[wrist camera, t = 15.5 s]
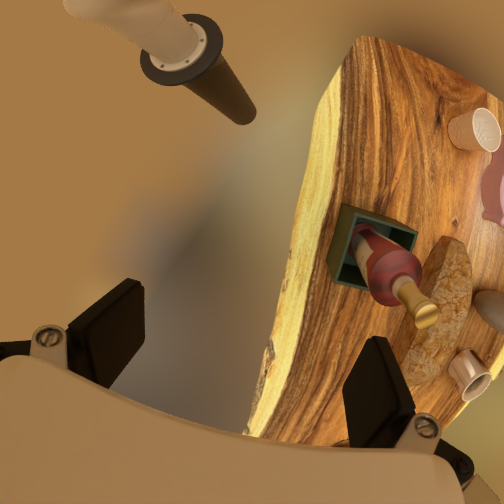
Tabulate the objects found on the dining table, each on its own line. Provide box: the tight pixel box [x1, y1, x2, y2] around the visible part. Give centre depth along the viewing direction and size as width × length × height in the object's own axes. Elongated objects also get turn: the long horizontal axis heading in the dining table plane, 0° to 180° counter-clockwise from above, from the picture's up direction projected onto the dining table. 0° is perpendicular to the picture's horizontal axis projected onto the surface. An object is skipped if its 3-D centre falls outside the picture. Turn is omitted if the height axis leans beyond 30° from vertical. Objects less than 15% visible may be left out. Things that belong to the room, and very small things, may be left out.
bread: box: [392, 236, 472, 387], centre depth 45 cm, size 36×11×10 cm, turn 174°
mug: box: [448, 349, 492, 401], centre depth 46 cm, size 10×12×11 cm
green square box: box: [326, 203, 418, 291], centre depth 42 cm, size 11×11×10 cm
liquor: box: [347, 223, 439, 329], centre depth 34 cm, size 7×7×28 cm
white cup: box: [448, 108, 501, 152], centre depth 33 cm, size 8×8×10 cm
